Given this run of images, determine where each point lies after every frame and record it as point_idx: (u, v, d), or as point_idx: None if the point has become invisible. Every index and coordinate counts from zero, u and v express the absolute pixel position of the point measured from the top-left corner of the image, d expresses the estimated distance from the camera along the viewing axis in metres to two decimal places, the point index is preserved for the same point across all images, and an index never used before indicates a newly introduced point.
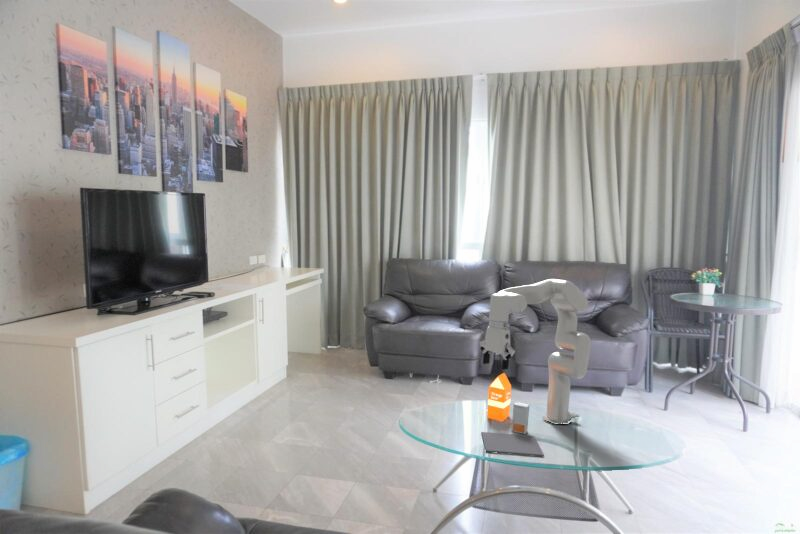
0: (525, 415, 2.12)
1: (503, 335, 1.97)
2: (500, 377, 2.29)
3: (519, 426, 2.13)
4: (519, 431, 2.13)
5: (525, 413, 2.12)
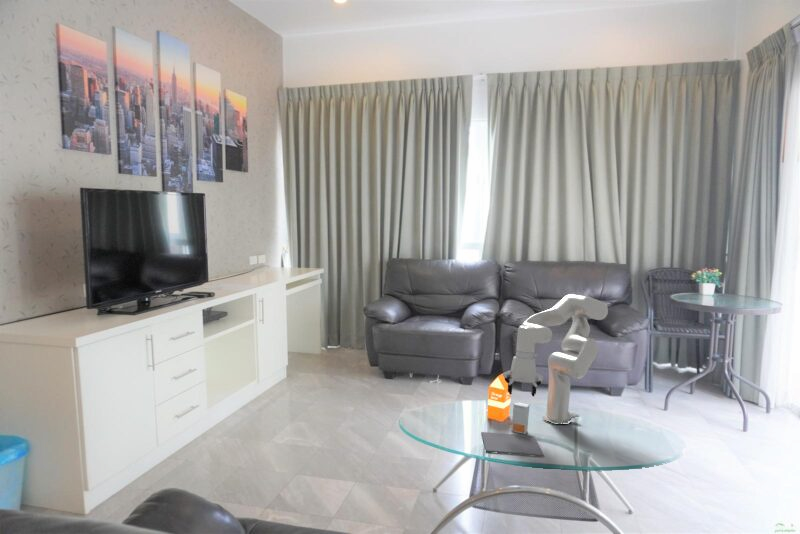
0: (525, 415, 2.12)
1: (535, 364, 2.11)
2: (500, 377, 2.29)
3: (519, 426, 2.13)
4: (519, 431, 2.13)
5: (525, 413, 2.12)
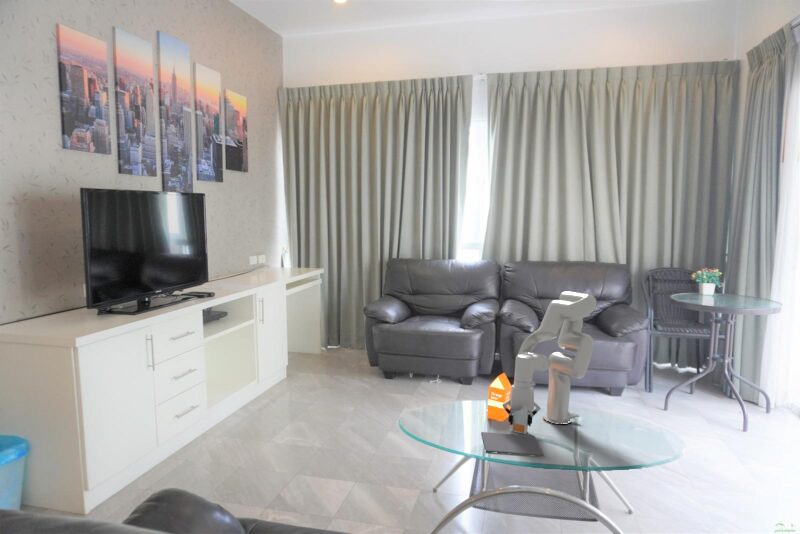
0: (525, 415, 2.12)
1: (533, 393, 2.12)
2: (500, 377, 2.29)
3: (519, 426, 2.13)
4: (519, 431, 2.13)
5: (525, 413, 2.12)
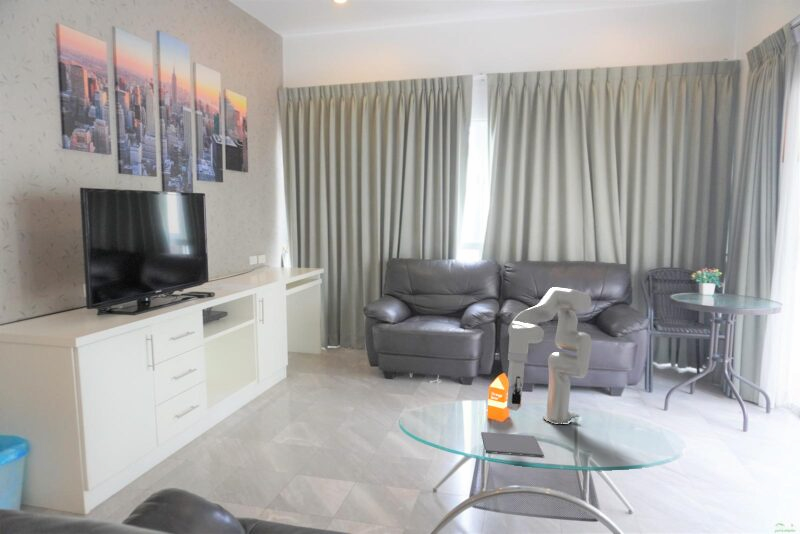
0: None
1: None
2: (500, 377, 2.29)
3: None
4: (519, 407, 2.00)
5: None
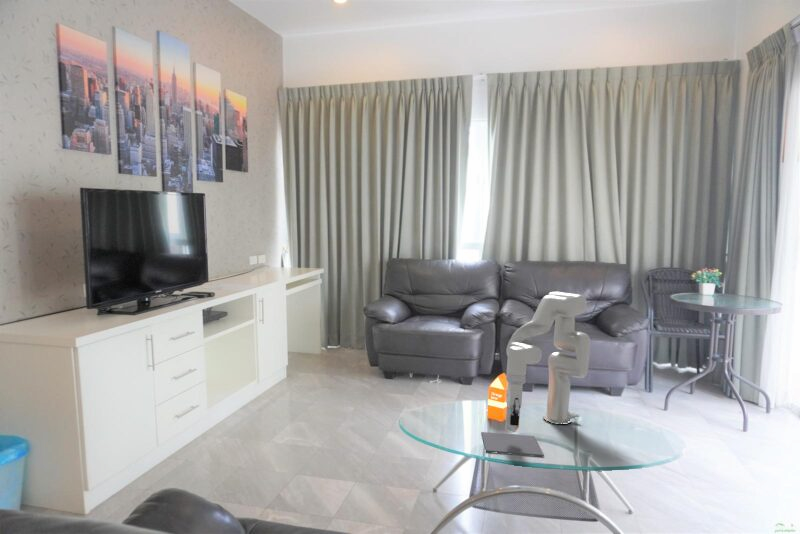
0: None
1: None
2: (500, 377, 2.29)
3: None
4: (517, 427, 2.00)
5: None
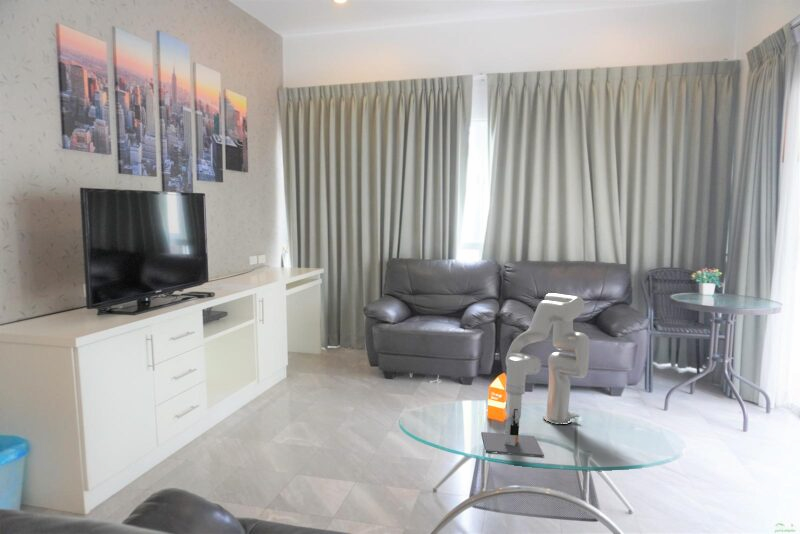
0: None
1: None
2: (500, 377, 2.29)
3: (516, 436, 2.00)
4: (516, 441, 2.01)
5: (519, 419, 2.02)
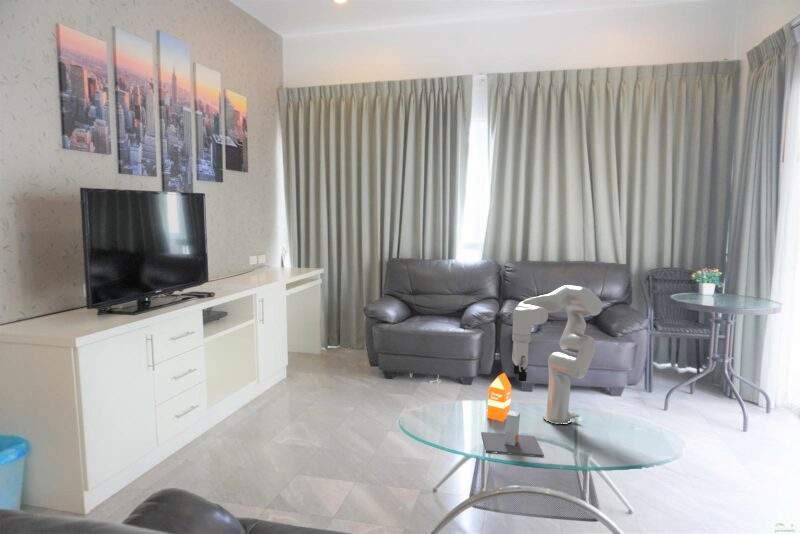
0: None
1: None
2: (500, 377, 2.29)
3: (516, 436, 2.00)
4: (516, 441, 2.01)
5: (519, 419, 2.02)
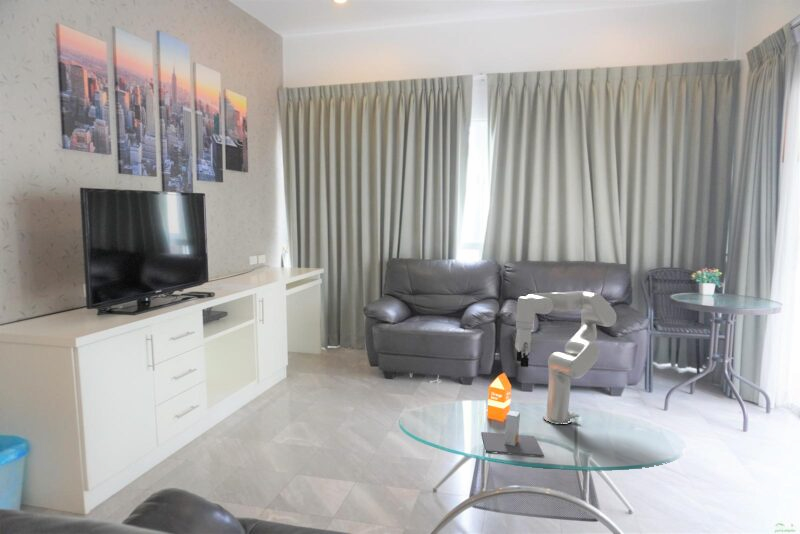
0: None
1: None
2: (500, 377, 2.29)
3: (516, 436, 2.00)
4: (516, 441, 2.01)
5: (519, 419, 2.02)
